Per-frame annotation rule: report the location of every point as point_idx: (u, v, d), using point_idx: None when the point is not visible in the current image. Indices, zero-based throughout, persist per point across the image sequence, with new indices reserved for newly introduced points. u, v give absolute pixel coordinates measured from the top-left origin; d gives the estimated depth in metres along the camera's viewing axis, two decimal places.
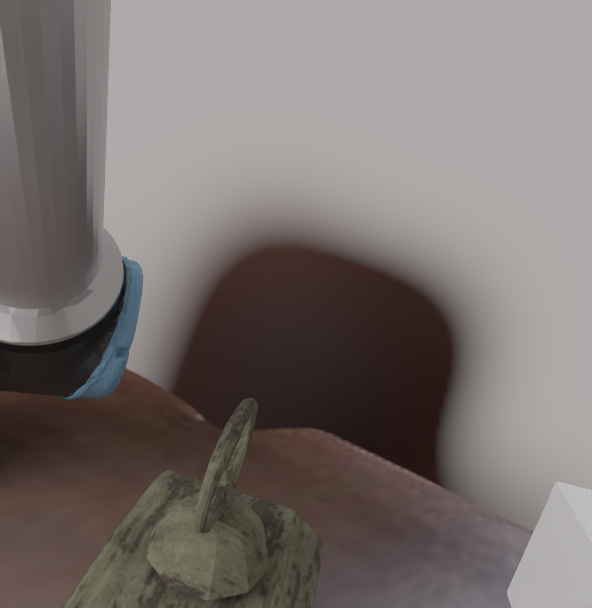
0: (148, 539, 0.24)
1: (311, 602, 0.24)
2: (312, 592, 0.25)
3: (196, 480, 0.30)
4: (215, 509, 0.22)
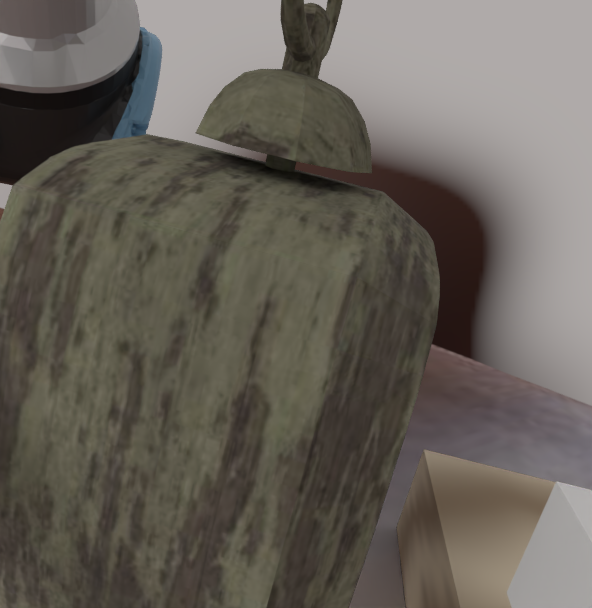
0: (193, 146, 0.17)
1: (429, 237, 0.17)
2: (428, 235, 0.17)
3: None
4: None
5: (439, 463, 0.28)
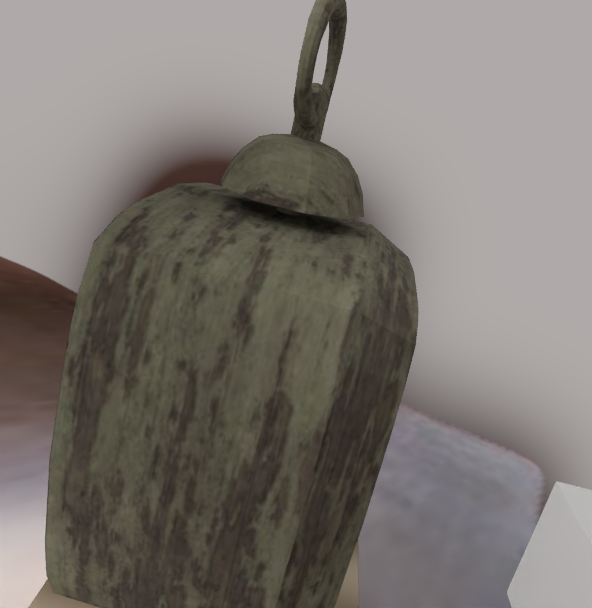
0: (217, 193, 0.20)
1: (410, 267, 0.21)
2: (409, 265, 0.21)
3: None
4: None
5: None
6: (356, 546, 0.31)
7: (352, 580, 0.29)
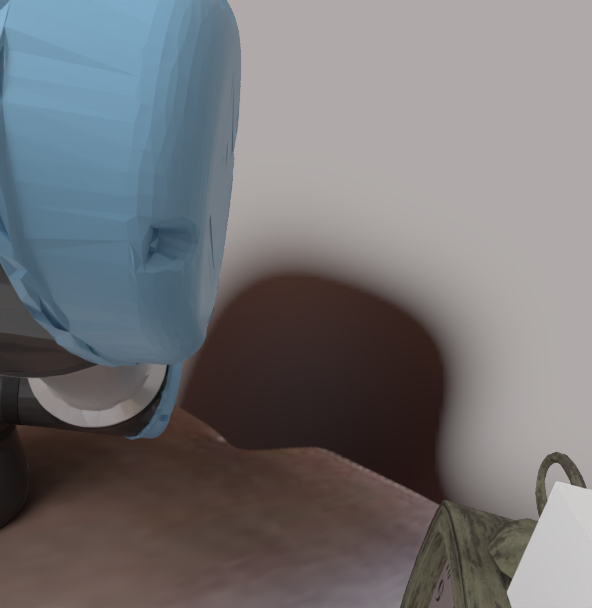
0: (484, 556, 0.33)
1: None
2: None
3: (469, 507, 0.39)
4: None
5: None
6: None
7: None
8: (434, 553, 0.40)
